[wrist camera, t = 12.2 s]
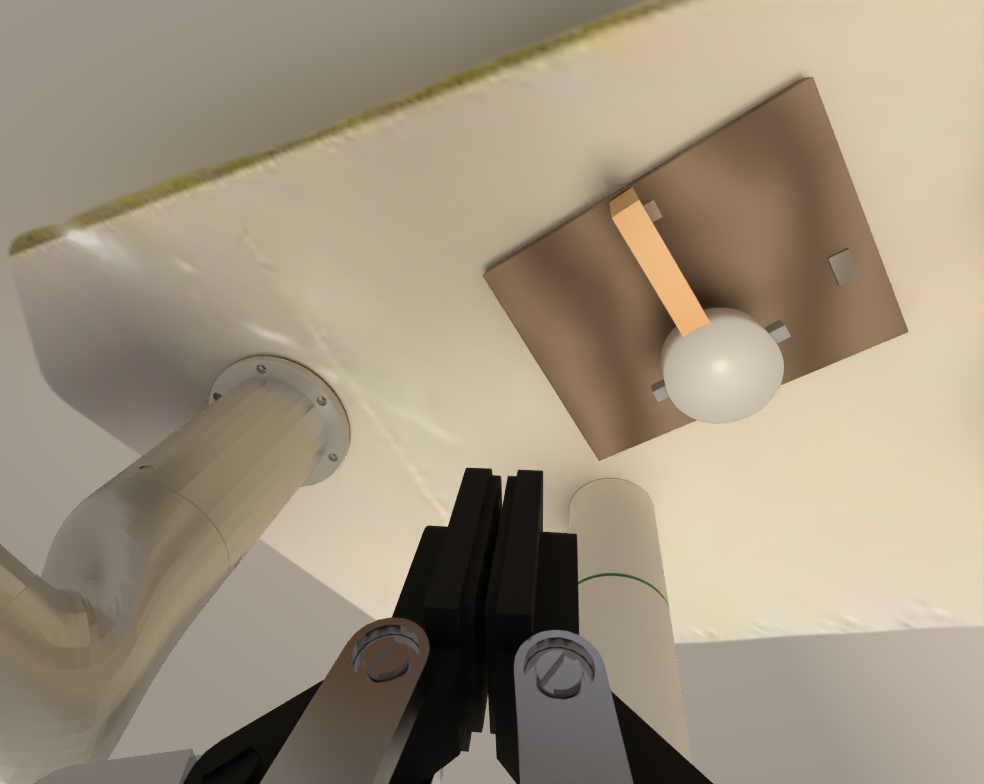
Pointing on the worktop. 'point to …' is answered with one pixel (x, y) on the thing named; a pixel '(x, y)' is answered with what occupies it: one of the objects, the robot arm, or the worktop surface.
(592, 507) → the cylindrical container
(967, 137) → the worktop surface
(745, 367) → the cap
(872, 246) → the post base
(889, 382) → the worktop surface
